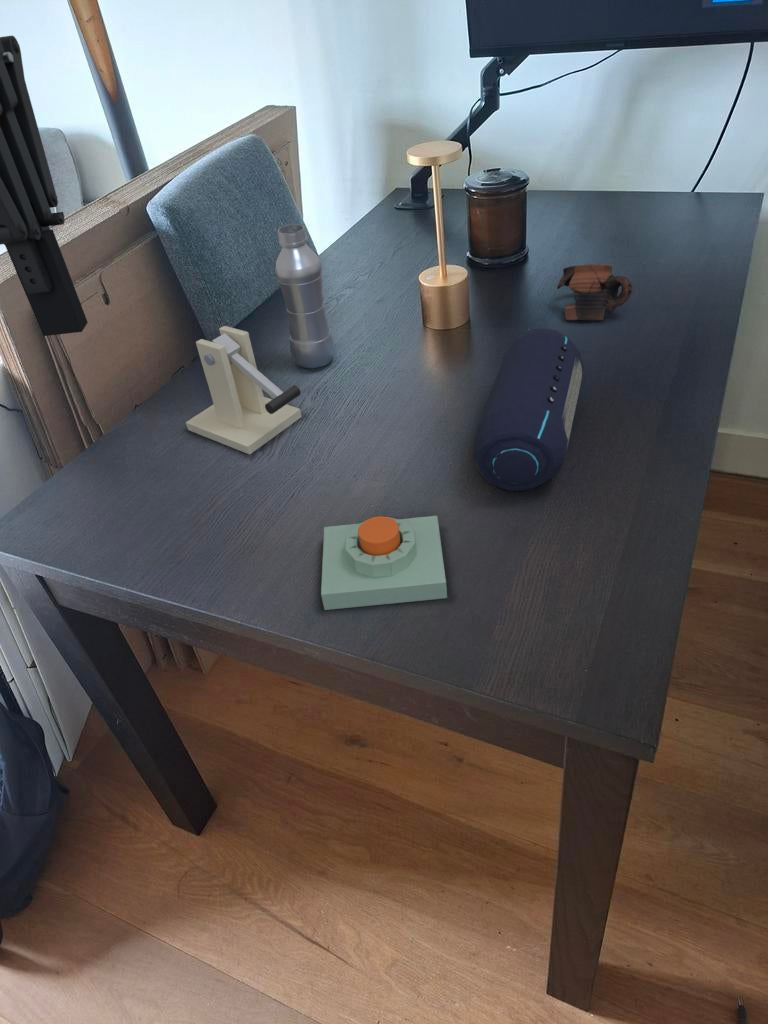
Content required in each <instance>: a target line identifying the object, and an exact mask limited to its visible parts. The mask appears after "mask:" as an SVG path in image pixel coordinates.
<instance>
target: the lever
mask: <svg viewBox="0 0 768 1024" xmlns="http://www.w3.org/2000/svg"><path fill="white" fill-rule="evenodd" d="M211 342H213V343H217V344H220V345H223V346H225V348H226V352H227V355H228V359H229V363H230V364H234V365H235V366H236V367H237V368H238V369H239V370H241V371H242V372H243V373H244V374H245V375H246V376H248V377H249V378H250V379H251V380H252V381H253V382H255V383H256V384H257V385H258V386H259V387H260V388H261V389H262V391H264V393H266V394H267V395H268V396H269V397H271V399H272V400H271V401H270V402H268V403H267V404H266V405H265V409H266V411H267V412H268V413H270V414H273V413H275V412H276V411H278V410H279V409H281V408H282V407H283V406H285V405H286V404H287V405H289V403H290V402H292V401H294V400H295V399H296V398H298V397H299V396H301V389H300V388H299V387H298V385H293V384H292V385H291V386H290V387H289V388H287V389H286V390H284V391H283V390H282V389H281V388H279V387H278V386H277V385H275V383H274V382H272V381H271V380H269V378H267V377H266V376H265V375H264V374H263V373H262V372H261V371H260V370H258V368H257V369H256V368H254V367H253V366H252V365H251V364H250V363H249V362H247V361H246V360H245V359H244V358H243V357H242V356H240V355H239V352H240V346H239V345H238V344H237V343H236V342H235V341H234V340H232V339H231V338H230V337H229V336H228V335H226V334H225V333H224V334H222V335H221V334H220V335H219V336H217V337H216V338H214V339H212V340H211Z"/></svg>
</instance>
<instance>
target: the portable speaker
mask: <svg viewBox="0 0 768 1024" xmlns="http://www.w3.org/2000/svg"><path fill="white" fill-rule="evenodd" d="M584 368H585V367H584V362H583V358H582V355H581V352H580V351H579V349H578V347H577V345H576V344H575V343H574V342H573V341H572V340H571V339H570V338H569V337H567V336H566V335H565V334H563V333H561V332H559V331H558V330H556V329H551V328H546V327H545V328H544V327H543V328H541V327H540V328H535V329H531V330H529V331H526V332H524V333H522V334H521V335H519V337H517V339H516V340H515V341H514V342H513V343H511V345H510V347H509V349H508V350H507V351H506V353H505V354H504V356H503V359H502V361H501V365H500V367H499V370H498V372H497V375H496V379H495V381H494V383H493V386H492V389H491V392H490V395H489V397H488V401H487V403H486V405H485V408H484V411H483V414H482V416H481V419H480V422H479V425H478V427H477V429H476V430H477V431H476V434H475V442H474V443H475V445H474V459H475V462H476V465H477V468H478V471H479V473H480V474H481V475H482V476H483V478H484V479H485V480H486V481H487V483H489V484H491V485H493V486H494V487H496V488H499V489H502V490H506V491H512V492H521V491H528V490H531V489H533V488H536V487H539V486H541V485H542V484H544V483H546V482H548V481H549V480H551V479H552V478H553V477H555V476H556V475H557V474H558V472H560V470H561V469H562V466H563V464H564V463H565V459H566V456H567V452H568V447H569V443H570V438H571V433H572V428H573V422H574V418H575V413H576V408H577V403H578V399H579V396H580V395H579V394H580V389H581V384H582V380H583V373H584Z"/></svg>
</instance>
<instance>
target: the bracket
mask: <svg viewBox="0 0 768 1024" xmlns="http://www.w3.org/2000/svg"><path fill="white" fill-rule="evenodd" d="M218 330H219V334H220V336H221V335H222V334H224V333H225V334H226V335H228V336H229V337H230V338H231V339H232V340H234V341H235V342H236V343H237V344H238V345H239V346H240V352H239V355H240V356H242V357H243V358H244V359H245V360H246V361H247V362H249V363H250V364H251V365H252V366H253V367H254V368H256V369H257V370H258V367H257V363H256V359H255V354H254V350H253V347H252V343H251V342H252V341H251V338H250V333H249V332H248V331H246V330H242V329H238V328H235V327H231V326H227V325H223V326H221V327H219V328H218ZM195 345H196V349H197V352H198V355H199V360H200V362H201V365H202V368H203V373H204V376H205V379H206V383H207V386H208V388H209V389H208V390H209V393H210V397H211V400H212V404H211V405H210V406H209V407H207V408H205V409H204V410H202V411H201V412H199V413H197V414H196V415H194V416H193V417H192V418H190V419H188V420H187V421H186V422H185V425H186V428H187V430H188V431H189V432H192V433H194V434H197V435H199V436H202V437H204V438H207V439H210V440H212V441H215V442H217V443H219V444H222V445H224V446H227V447H229V448H232V449H234V450H237V451H239V452H242V453H245V454H246V455H252V454H253V453H254V452H255V451H257V450H259V449H260V448H261V447H263V446H265V444H267V443H268V442H270V441H271V440H272V439H273V438H275V437H277V436H278V435H279V434H281V433H282V432H284V431H285V430H286V429H287V428H289V427H290V426H292V425H293V424H294V423H296V422H297V421H299V420H300V419H301V418H302V417H303V416H302V411H301V408H298V407H296V406H293V405H290V404H286V405H285V406H283V407H282V408H281V409H279V410H278V411H276V412H275V413H273V414H270V413H268V412H267V411H266V409H265V405H266V404H267V403H268V402H270V401H271V400H273V398H270V397H266V396H264V392H263V389H261V388H260V387H259V386H258V385H257V384H256V383H255V382H253V381H252V380H251V379H250V378H249V377H248V376H246V375H245V374H244V373H243V372H242V371H241V370H239V369H238V368H237V367H236V366H235V365H234V364H230V363H229V359H228V355H227V352H226V348H225V346H223V345H220V344H217V343H213V342H212V341H210V340H208V339H207V340H206V339H203V338H201V339H199V340H196V341H195Z"/></svg>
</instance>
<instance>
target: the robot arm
mask: <svg viewBox="0 0 768 1024" xmlns="http://www.w3.org/2000/svg"><path fill="white" fill-rule="evenodd" d="M29 94H30V93H29V89H28V86H27V83H26V79H25V72H24V65H23V58H22V51H21V47H20V43H19V42H18V39H17V38H16V36H14V35H5V36H0V245H4V246H5V249H6V251H7V254H8V255H9V259H10V261H11V263H12V266H13V267H14V270H15V272H16V274H17V277H18V279H19V282H20V284H21V287H22V288H23V291H24V294H25V296H26V298H27V301H28V303H29V305H30V307H31V310H32V312H33V315H34V317H35V320H36V322H37V324H38V327H39V329H40V331H41V333H42V336H43V337H48V336H57V335H66V334H75V333H82V332H83V331H84V329H85V328H86V326H87V324H88V322H89V321H88V319H87V316H86V314H85V311H84V309H83V306H82V303H81V301H80V298H79V295H78V293H77V290H76V288H75V284H74V283H73V280H72V279H73V278H72V277H71V274H70V272H69V269H68V266H67V264H66V261H65V258H64V256H63V253H62V251H61V248H60V245H59V243H58V239H57V237H56V234H55V231H54V229H53V228H52V229H51V228H50V227H54V226H55V227H56V226H60V225H61V226H62V225H65V221H66V220H65V219H66V218H65V214H64V211H59V212H52V210H51V209H53V208H57V207H58V205H59V199H58V196H57V192H56V189H55V184H54V181H53V177H52V174H51V171H50V166H49V163H48V159H47V156H46V152H45V148H44V145H43V141H42V137H41V133H40V130H39V126H38V123H37V119H36V116H35V115H36V114H35V112H34V108H33V105H32V101H31V98H30V95H29Z"/></svg>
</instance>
